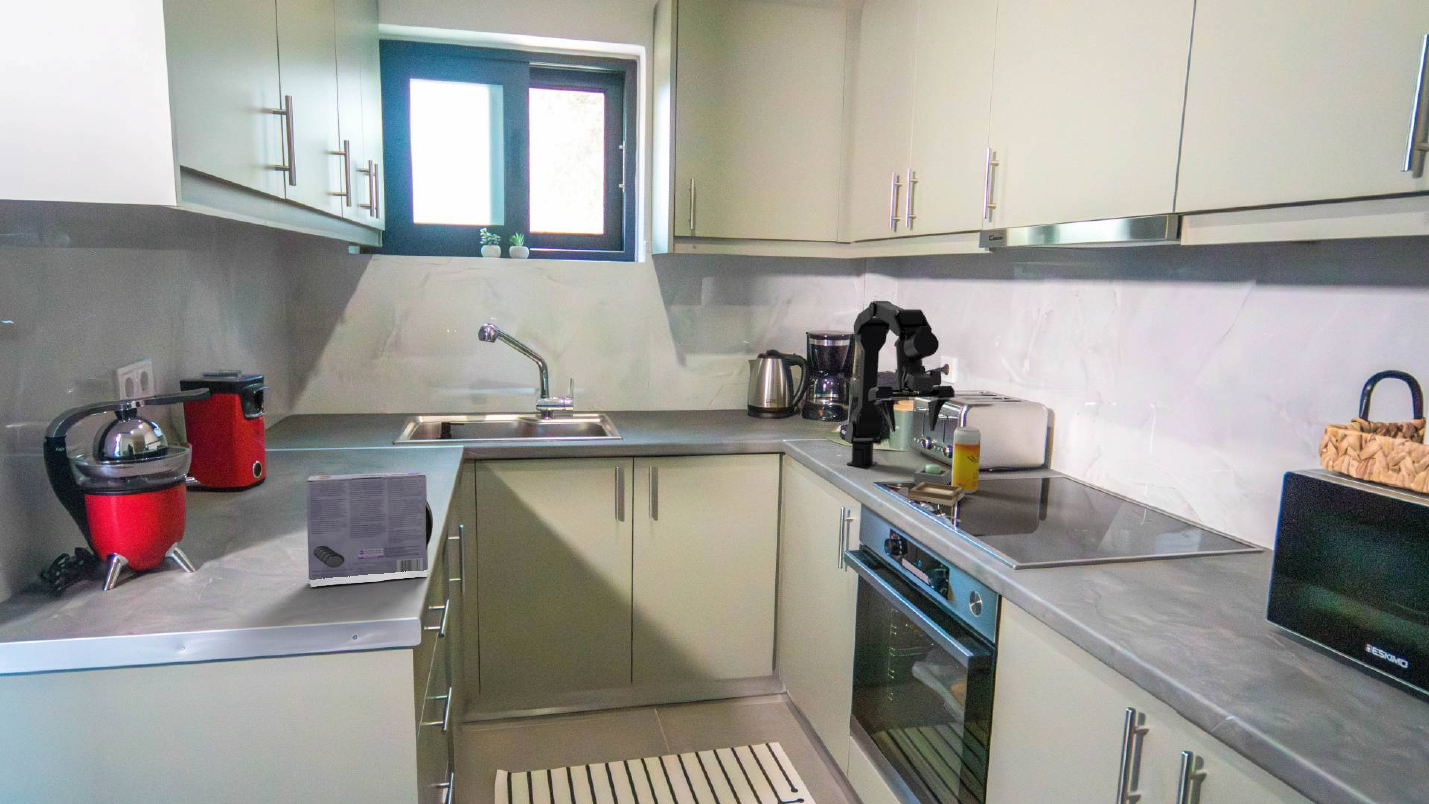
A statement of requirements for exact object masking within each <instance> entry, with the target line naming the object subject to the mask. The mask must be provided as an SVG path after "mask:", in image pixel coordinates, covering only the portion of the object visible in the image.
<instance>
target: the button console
mask: <svg viewBox="0 0 1429 804" xmlns="http://www.w3.org/2000/svg"><path fill="white" fill-rule="evenodd" d="M925 469H926V467H922V468H920V469H918V470H916V471H915V472H913V475H914V477H913V478H914V479H913V485H914V484H915V485H914V486H917V485H919V484H920V483H922V482H929V483H936V484H944V485H947V484H948V485H950V484H951V483H950V482H951V481H952V470H946V469H941V473H940V475H935V474H927V473H925ZM949 483H950V484H949Z"/></svg>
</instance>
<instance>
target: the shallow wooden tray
mask: <svg viewBox="0 0 1429 804" xmlns="http://www.w3.org/2000/svg"><path fill="white" fill-rule="evenodd" d="M963 490H964V487H958V486H951V484H948V485H944V484H936V483H929V482H922V483H920V484H919V485H914V486H913V488H911V489H909V493H908V495H907V497H908V498H907V500H908V499H912V500H911V501H915V500H916V502H921V501H926V502H925V503H928V502H931V503H930V504H936V505H942V504H943V505H942V506H949V507H953V506H954V505H955V504H957V503H958V502H959V501H960V500H962V499H963V498H964V497H965V493H964V491H963ZM961 498H962V499H961Z"/></svg>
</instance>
